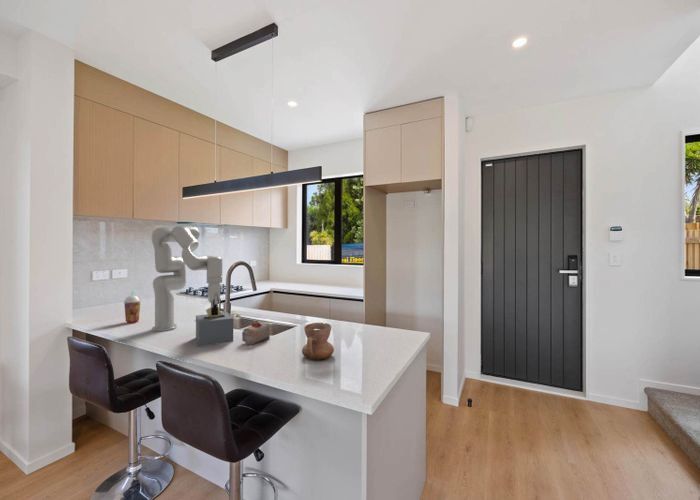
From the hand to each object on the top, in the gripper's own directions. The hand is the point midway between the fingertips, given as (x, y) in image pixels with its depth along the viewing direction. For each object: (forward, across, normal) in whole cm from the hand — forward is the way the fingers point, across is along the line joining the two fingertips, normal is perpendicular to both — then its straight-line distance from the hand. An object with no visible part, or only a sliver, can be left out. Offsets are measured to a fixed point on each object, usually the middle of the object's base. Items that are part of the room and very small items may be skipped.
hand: (214, 314), depth 159 cm
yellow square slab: (0, 0, -3) cm, 3 cm away
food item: (+14, +14, +18) cm, 27 cm away
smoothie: (+14, -62, -39) cm, 75 cm away
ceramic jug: (+14, +50, +36) cm, 63 cm away
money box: (+13, 0, 0) cm, 13 cm away
